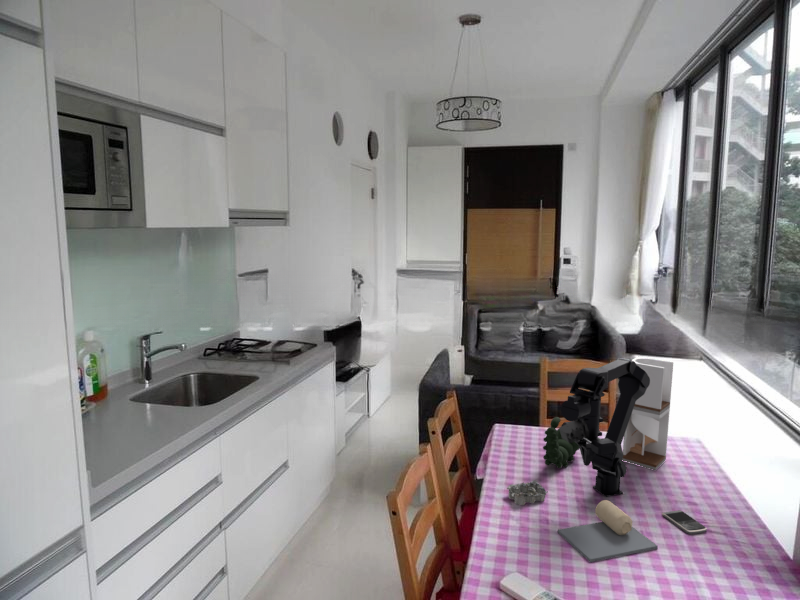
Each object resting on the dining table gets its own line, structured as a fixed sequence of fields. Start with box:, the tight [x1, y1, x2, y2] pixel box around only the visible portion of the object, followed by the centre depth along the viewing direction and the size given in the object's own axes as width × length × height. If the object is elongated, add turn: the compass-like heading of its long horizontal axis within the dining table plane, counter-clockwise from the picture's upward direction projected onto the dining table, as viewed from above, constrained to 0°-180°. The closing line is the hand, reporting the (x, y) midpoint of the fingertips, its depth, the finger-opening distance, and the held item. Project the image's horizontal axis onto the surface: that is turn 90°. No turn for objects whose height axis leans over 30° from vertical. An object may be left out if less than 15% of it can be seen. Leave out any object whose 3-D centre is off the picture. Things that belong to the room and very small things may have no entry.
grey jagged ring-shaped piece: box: [506, 479, 549, 506], centre depth 172 cm, size 11×8×4 cm
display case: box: [622, 356, 674, 471], centre depth 196 cm, size 11×11×35 cm
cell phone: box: [661, 509, 708, 535], centre depth 159 cm, size 6×11×1 cm, turn 14°
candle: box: [594, 499, 633, 535], centre depth 154 cm, size 6×6×10 cm
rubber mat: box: [557, 521, 659, 563], centre depth 150 cm, size 20×14×1 cm
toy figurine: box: [542, 416, 580, 469], centre depth 197 cm, size 9×19×25 cm
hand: (586, 465), depth 167 cm, fingers closed
